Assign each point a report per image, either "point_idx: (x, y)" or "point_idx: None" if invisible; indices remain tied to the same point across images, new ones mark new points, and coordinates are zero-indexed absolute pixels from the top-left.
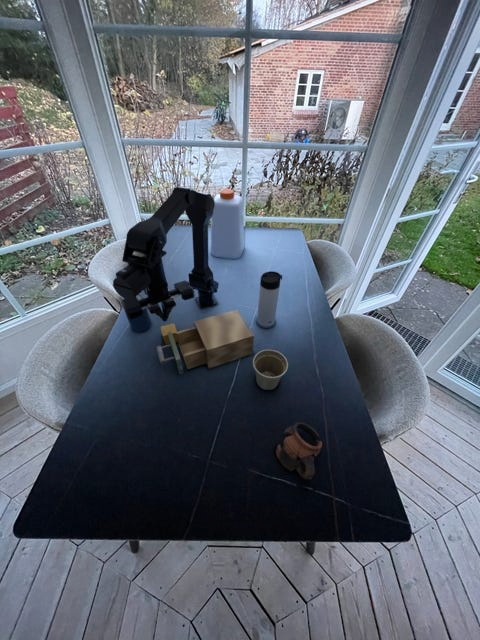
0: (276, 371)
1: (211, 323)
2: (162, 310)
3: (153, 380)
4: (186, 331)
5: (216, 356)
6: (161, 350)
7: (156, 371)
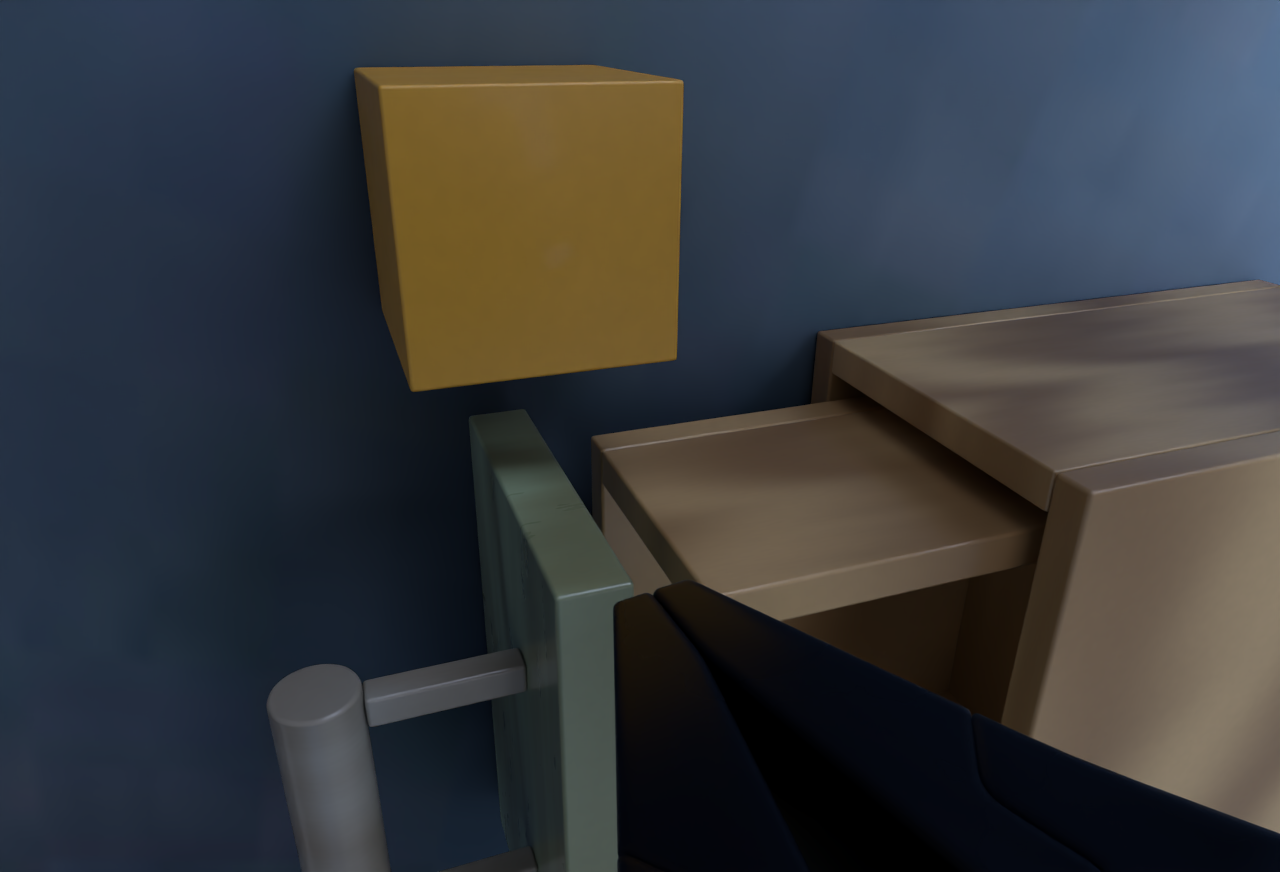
0: None
1: (1252, 594)
2: (829, 763)
3: (174, 822)
4: (863, 594)
5: None
6: (362, 797)
7: (215, 715)
